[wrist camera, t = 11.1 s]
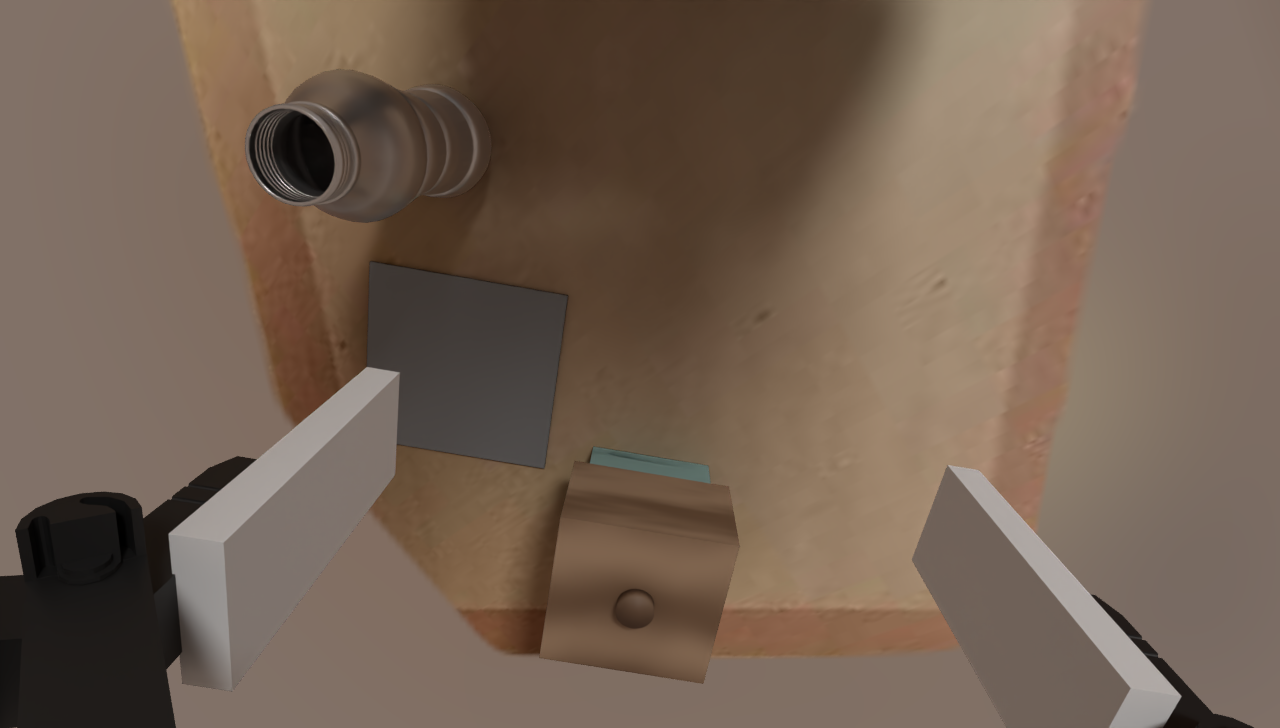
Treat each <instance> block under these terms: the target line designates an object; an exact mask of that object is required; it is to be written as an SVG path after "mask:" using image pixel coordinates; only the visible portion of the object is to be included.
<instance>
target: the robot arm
mask: <svg viewBox="0 0 1280 728" xmlns="http://www.w3.org/2000/svg"><path fill="white" fill-rule="evenodd" d="M399 379H400V372H394V371H388V370H382V369H376V368H370V367H366V368H365V369H364V370H363V371H362V372H360V373H359V374H358V375H357V376H356V377H354V378H353V379H352V380H351V381H350V382H349V383H347V384H346V385H345V386H344V387H343V388H341V389H340V390H339V391H338V392H337V393H335V394H334V395H333V396H332V397H331V398H330V399H328V400H327V401H326V402H325V403H324V404H322V405H321V406H320V407H319V408H318V409H316V410H315V411H314V412H313V413H312V414H310V415H309V416H308V417H307V418H306V419H305V420H303V421H302V422H301V423H300V424H299V425H297V426H296V427H295V428H294V429H293V430H291V431H290V432H289V433H288V434H287V435H286V436H284V437H283V438H282V439H281V440H280V441H278V442H277V443H276V444H275V445H274V446H273V447H271V448H270V449H269V450H268V451H266V452H265V453H264V454H263V455H262V456H261V457H259V458H258V459H251V458H245V457H239V456H237V457H235V458H232V459H230V460H227V461H225V462H222V463H220V464H218V465H215V466H213V467H210V468H208V469H207V470H206V471H204V472H203V473H202V474H201V475H199V476H198V477H197V478H195V479H194V480H193V481H191V482H190V483H189V486H188V487H184V488H182V489H181V490H180V491H179V492H177V493H176V494H175V495H173V497H172V499H171V500H167V501H165V502H164V503H163V504H162V505H160V506H159V507H158V508H156V509H155V510H154V511H152V512H151V513H150V514H149V515H147V516H146V517H145V518H143V515H142V507H141V505H140V504H139V503H138V501H137V500H136V499H135V498H132V497H130V496H127V495H125V494H122V493H112V492H94V493H82V494H77V495H73V496H69V497H64V498H61V499H57V500H54V501H52V502H50V503H47V504H45V505H42V506H40V507H38V508H36V509H34V510H33V511H32V512H30V513H29V514H28V515H26V516H25V517H24V518H22V519H21V521H20V523H19V524H18V526H17V528H16V530H15V532H16V537H17V543H18V548H19V553H20V559H21V564H22V569H23V575H17V576H0V728H14V727H17V728H176V726H175V720H174V714H173V708H172V702H171V696H170V690H169V684H168V678H167V672H166V669H167V668H168V667H169V666H170V665H171V664H172V663H173V661H174V660H175V659H176V658H177V657H178V656H179V655H180V663H181V674H182V684H187V685H193V686H200V687H206V688H213V689H220V690H226V691H233V690H234V689H235V687H236V686H237V685H238V683H239V682H240V681H241V679H242V678H243V677H244V675H245V674H246V673H247V671H248V670H249V669H250V667H251V666H252V665H253V663H254V662H255V661H256V659H257V658H258V657H259V655H260V654H261V653H262V651H263V650H264V649H265V647H266V646H267V645H268V643H269V642H270V641H271V639H272V638H273V637H274V635H275V634H276V633H277V631H278V630H279V629H280V627H281V626H282V625H283V623H284V622H285V621H286V619H287V618H288V617H289V615H290V614H291V612H292V611H293V610H294V609H295V607H296V606H297V605H298V603H299V602H300V601H301V599H302V598H303V596H304V595H305V594H306V593H307V591H308V590H309V589H310V587H311V586H312V585H313V583H314V582H315V581H316V579H317V578H318V577H319V575H320V574H321V573H322V571H323V570H324V569H325V567H326V566H327V565H328V563H329V562H330V561H331V559H332V558H333V557H334V555H335V554H336V553H337V551H338V550H339V549H340V547H341V546H342V545H343V543H344V542H345V541H346V539H347V538H348V537H349V536H350V534H351V533H352V532H353V530H354V529H355V527H356V526H357V525H358V524H359V522H360V521H361V519H362V518H363V517H364V516H365V514H366V513H367V512H368V510H369V509H370V508H371V506H372V505H373V504H374V502H375V501H376V500H377V498H378V497H379V496H380V494H381V493H382V492H383V490H384V489H385V488H386V486H387V485H388V484H389V482H390V481H391V480H392V478H393V477H394V476H395V465H396V443H397V422H398V400H399ZM912 561H913V563H914V565H915V566H916V568H917V570H918V572H919V573H920V575H921V577H922V579H923V581H924V582H925V584H926V586H927V588H928V589H929V591H930V593H931V595H932V597H933V598H934V600H935V602H936V604H937V605H938V607H939V609H940V611H941V613H942V614H943V616H944V618H945V620H946V621H947V623H948V625H949V627H950V628H951V630H952V632H953V634H954V636H955V637H956V639H957V641H958V643H959V644H960V646H961V648H962V650H963V652H964V653H965V655H966V657H967V659H968V660H969V662H970V664H971V666H972V667H973V669H974V671H975V673H976V675H977V676H978V678H979V680H980V682H981V683H982V685H983V687H984V689H985V691H986V692H987V694H988V696H989V698H990V699H991V701H992V703H993V705H994V707H995V708H996V710H997V712H998V713H999V715H1000V717H1001V719H1002V721H1003V722H1004V724H1005V726H1006V728H1254V727H1252V726H1250V725H1247V724H1245V723H1243V722H1240V721H1238V720H1236V719H1234V718H1230V717H1226V716H1222V715H1218V714H1213V713H1212V712H1211V711H1210V710H1209V709H1208V707H1207V706H1206V705H1205V704H1204V703H1203V702H1202V701H1201V700H1200V699H1199V698H1198V697H1197V696H1196V695H1195V694H1194V692H1193V691H1192V690H1191V689H1190V688H1189V687H1188V686H1187V685H1186V684H1185V683H1184V681H1183V680H1182V679H1181V678H1180V677H1179V676H1178V675H1177V674H1176V673H1175V672H1174V671H1173V670H1172V668H1170V666H1169V665H1168V664H1167V663H1166V662H1165V661H1164V660H1163V659H1162V658H1158V653H1157V652H1156V651H1155V650H1154V649H1153V648H1152V647H1151V646H1150V645H1149V644H1148V643H1147V641H1145V640H1142V636H1141V635H1140V634H1139V633H1138V632H1137V631H1136V630H1135V629H1134V627H1133V626H1132V625H1131V624H1130V623H1129V622H1128V621H1127V620H1126V619H1125V618H1124V617H1123V616H1122V615H1121V614H1120V613H1119V612H1117V611H1116V610H1114V609H1113V608H1112V607H1110V606H1109V605H1108V604H1106V603H1105V602H1103V601H1102V600H1101V599H1100V598H1098V597H1097V596H1095V595H1091V594H1089V593H1088V591H1087V590H1086V589H1085V588H1084V587H1083V586H1082V585H1081V584H1080V583H1079V581H1078V580H1077V579H1076V578H1075V577H1074V576H1073V575H1072V574H1071V573H1070V572H1069V570H1068V569H1067V568H1066V567H1065V566H1064V565H1063V564H1062V562H1061V561H1060V560H1059V559H1058V558H1057V557H1056V556H1055V555H1054V554H1053V552H1052V551H1051V550H1050V549H1049V548H1048V547H1047V546H1046V545H1045V544H1044V543H1043V541H1042V540H1041V539H1040V538H1039V537H1038V536H1037V535H1036V534H1035V532H1034V531H1033V530H1032V529H1031V528H1030V527H1029V526H1028V525H1027V523H1026V522H1025V521H1024V520H1023V519H1022V518H1021V517H1020V516H1019V515H1018V513H1017V512H1016V511H1015V510H1014V509H1013V508H1012V507H1011V506H1010V505H1009V503H1008V502H1007V501H1006V500H1005V499H1004V498H1003V497H1002V496H1001V494H1000V493H999V492H998V491H997V490H996V489H995V488H994V487H993V486H992V484H991V483H990V482H989V481H988V480H987V479H986V478H985V477H984V476H983V474H982V473H981V472H980V471H979V470H974V469H968V468H962V467H957V466H951V465H947V468H946V470H945V473H944V476H943V478H942V481H941V484H940V486H939V489H938V492H937V494H936V497H935V500H934V502H933V505H932V508H931V510H930V513H929V516H928V518H927V521H926V524H925V526H924V529H923V532H922V534H921V537H920V540H919V542H918V545H917V548H916V550H915V553H914V556H913V558H912Z"/></svg>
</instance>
